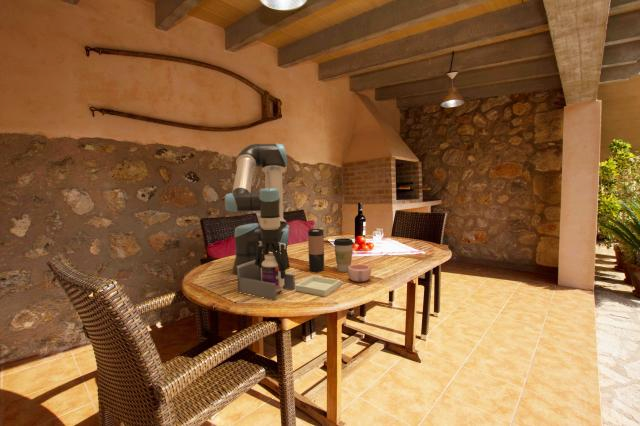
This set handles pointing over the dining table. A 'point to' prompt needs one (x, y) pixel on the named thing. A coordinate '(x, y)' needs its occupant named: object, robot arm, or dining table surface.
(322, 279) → the tray
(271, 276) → the pill bottle
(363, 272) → the mug
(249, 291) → the bay
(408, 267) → the dining table surface
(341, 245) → the coffee cup
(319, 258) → the travel mug
